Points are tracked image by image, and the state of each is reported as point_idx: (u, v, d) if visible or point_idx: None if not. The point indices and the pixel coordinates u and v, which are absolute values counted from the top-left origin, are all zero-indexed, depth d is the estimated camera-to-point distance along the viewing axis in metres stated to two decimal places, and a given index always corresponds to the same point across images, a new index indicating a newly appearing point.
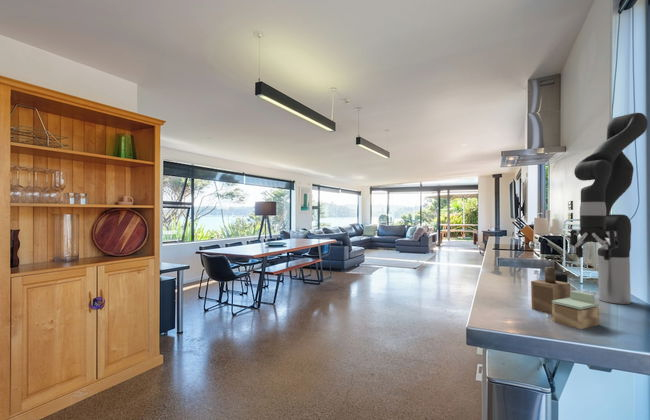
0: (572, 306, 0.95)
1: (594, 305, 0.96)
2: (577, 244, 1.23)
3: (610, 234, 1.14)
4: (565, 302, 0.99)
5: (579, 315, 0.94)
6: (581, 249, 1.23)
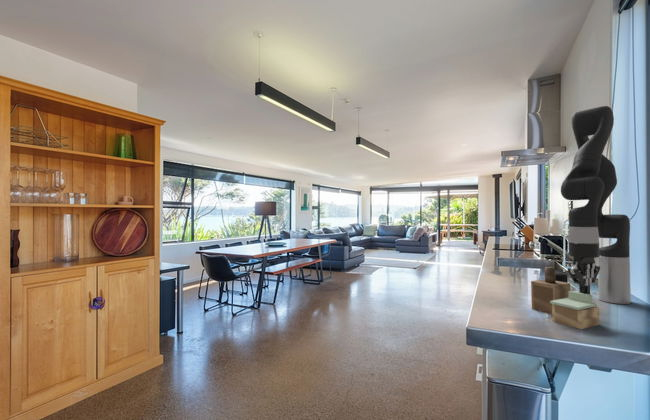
0: (570, 306, 0.95)
1: (592, 305, 0.96)
2: (587, 282, 0.99)
3: (598, 269, 1.02)
4: (563, 302, 0.98)
5: (579, 315, 0.94)
6: None
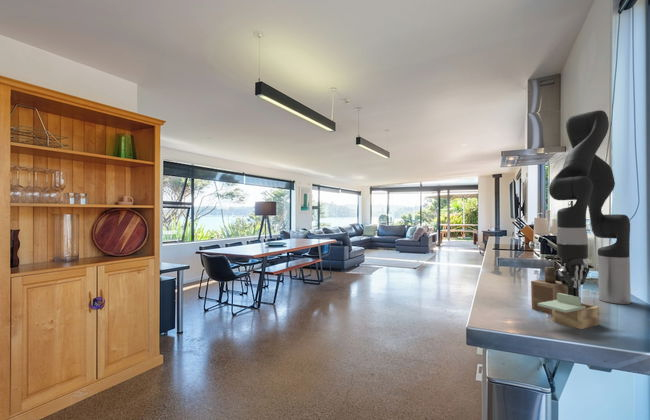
0: (558, 309, 0.93)
1: (580, 308, 0.94)
2: (576, 284, 0.97)
3: (587, 270, 0.99)
4: (551, 305, 0.96)
5: (579, 315, 0.94)
6: None
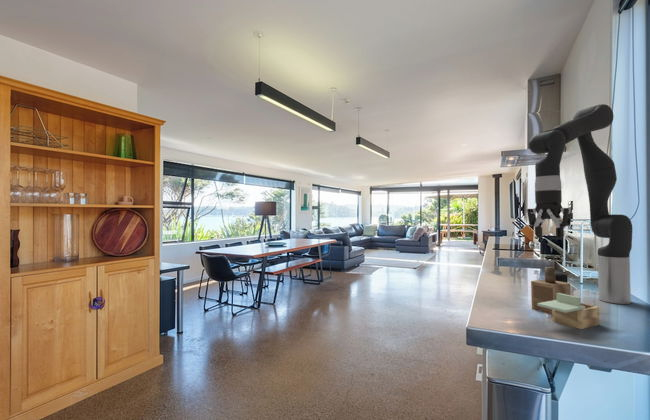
0: (557, 309, 0.93)
1: (580, 308, 0.93)
2: None
3: None
4: (551, 305, 0.96)
5: (579, 315, 0.94)
6: None
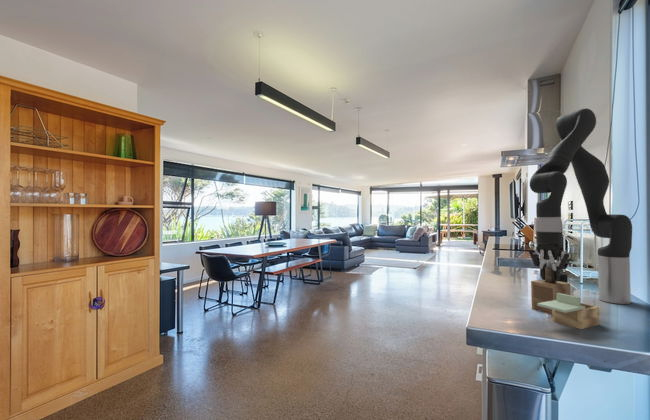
0: (557, 309, 0.93)
1: (580, 308, 0.93)
2: None
3: None
4: (551, 305, 0.96)
5: (579, 315, 0.94)
6: None
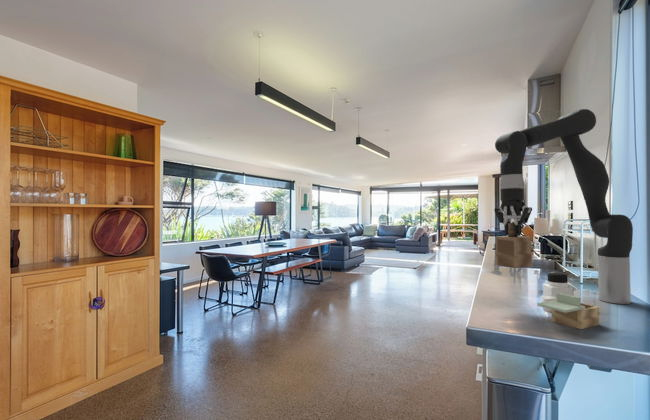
0: (557, 309, 0.93)
1: (580, 308, 0.93)
2: None
3: None
4: (551, 305, 0.96)
5: (579, 315, 0.94)
6: None
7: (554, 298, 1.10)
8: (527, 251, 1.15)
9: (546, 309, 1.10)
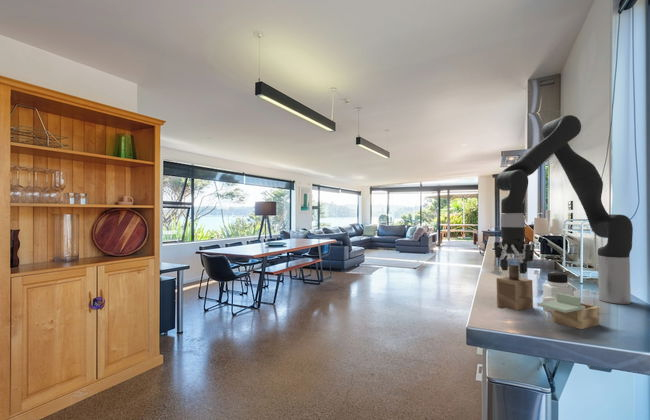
0: (557, 309, 0.93)
1: (580, 308, 0.93)
2: None
3: None
4: (551, 305, 0.96)
5: (579, 315, 0.94)
6: None
7: (554, 297, 1.12)
8: (529, 295, 1.14)
9: None
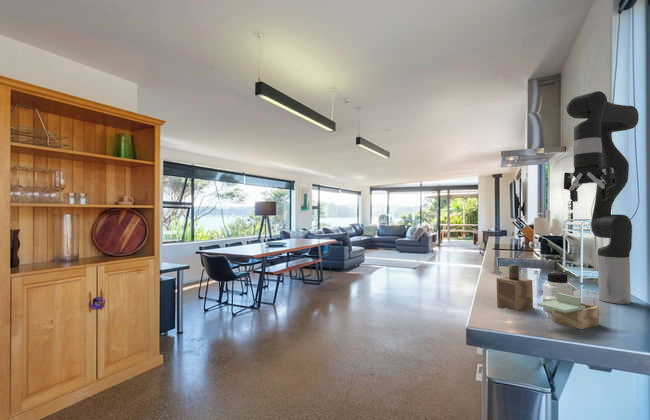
0: (557, 309, 0.93)
1: (580, 308, 0.93)
2: None
3: None
4: (551, 305, 0.96)
5: (579, 315, 0.94)
6: None
7: (551, 296, 1.12)
8: (529, 295, 1.14)
9: None
